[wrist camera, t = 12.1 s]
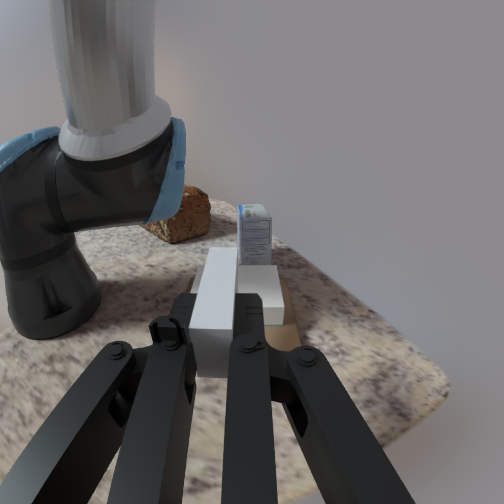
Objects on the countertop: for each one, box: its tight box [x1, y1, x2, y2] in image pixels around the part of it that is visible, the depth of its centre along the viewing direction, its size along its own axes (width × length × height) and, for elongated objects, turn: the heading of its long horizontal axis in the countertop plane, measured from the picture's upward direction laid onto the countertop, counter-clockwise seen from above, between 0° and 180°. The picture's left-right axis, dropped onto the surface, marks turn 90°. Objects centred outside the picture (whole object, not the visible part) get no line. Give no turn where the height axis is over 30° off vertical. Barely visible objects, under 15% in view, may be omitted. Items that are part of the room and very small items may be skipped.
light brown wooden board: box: [186, 278, 301, 352], centre depth 32 cm, size 13×14×1 cm
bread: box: [139, 185, 211, 243], centre depth 59 cm, size 19×11×10 cm, turn 42°
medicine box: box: [237, 204, 272, 265], centre depth 44 cm, size 8×4×9 cm, turn 7°
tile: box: [190, 265, 284, 326], centre depth 33 cm, size 10×2×9 cm
